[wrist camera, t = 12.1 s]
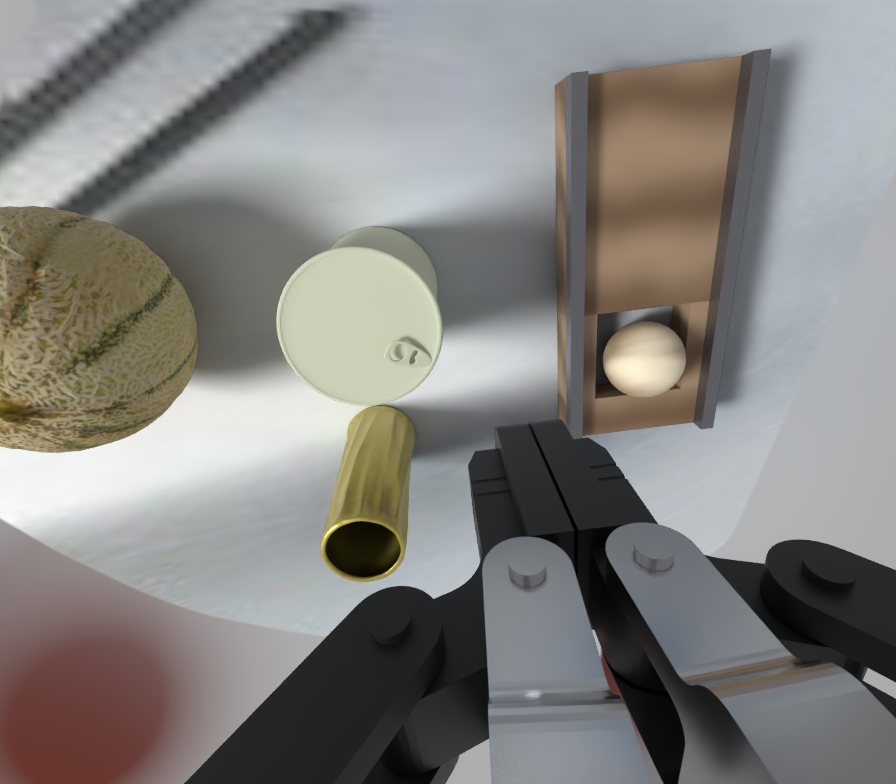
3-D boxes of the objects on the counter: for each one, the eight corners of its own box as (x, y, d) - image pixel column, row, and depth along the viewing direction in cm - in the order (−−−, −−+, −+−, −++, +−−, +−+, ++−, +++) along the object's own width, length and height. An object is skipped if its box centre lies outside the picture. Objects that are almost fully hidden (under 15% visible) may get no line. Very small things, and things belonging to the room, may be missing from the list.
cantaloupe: (69, 155, 31) (-213, 130, 17) (265, 286, 35) (165, 351, 21) (0, 324, 35) (-268, 412, 22) (182, 423, 39) (54, 549, 26)
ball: (597, 400, 39) (587, 330, 39) (665, 389, 39) (656, 320, 39) (627, 405, 33) (616, 323, 33) (708, 392, 33) (697, 310, 33)
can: (409, 362, 38) (404, 432, 27) (303, 317, 36) (251, 374, 25) (457, 259, 35) (473, 293, 24) (343, 204, 33) (303, 213, 22)
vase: (423, 414, 40) (424, 523, 27) (406, 470, 43) (398, 595, 30) (355, 397, 39) (322, 502, 26) (341, 455, 42) (304, 578, 29)
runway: (555, 85, 30) (571, 73, 27) (732, 63, 30) (771, 48, 27) (558, 423, 41) (570, 445, 38) (689, 407, 41) (713, 427, 38)
